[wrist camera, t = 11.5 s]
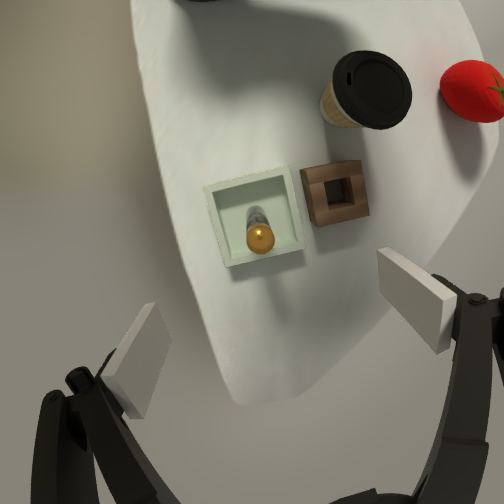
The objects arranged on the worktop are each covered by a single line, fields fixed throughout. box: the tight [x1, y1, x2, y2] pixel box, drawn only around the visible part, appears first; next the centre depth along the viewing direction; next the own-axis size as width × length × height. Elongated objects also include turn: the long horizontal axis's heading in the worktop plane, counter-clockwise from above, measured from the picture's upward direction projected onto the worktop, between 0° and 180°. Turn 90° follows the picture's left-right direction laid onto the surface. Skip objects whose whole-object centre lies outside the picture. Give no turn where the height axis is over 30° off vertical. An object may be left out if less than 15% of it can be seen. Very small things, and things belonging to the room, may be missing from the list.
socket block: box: [300, 160, 370, 227], centre depth 40 cm, size 8×8×5 cm
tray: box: [203, 166, 306, 267], centre depth 41 cm, size 12×12×4 cm
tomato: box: [440, 60, 504, 123], centre depth 30 cm, size 13×11×14 cm
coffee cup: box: [319, 50, 412, 130], centre depth 31 cm, size 10×10×15 cm
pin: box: [246, 205, 275, 254], centre depth 35 cm, size 3×3×15 cm
